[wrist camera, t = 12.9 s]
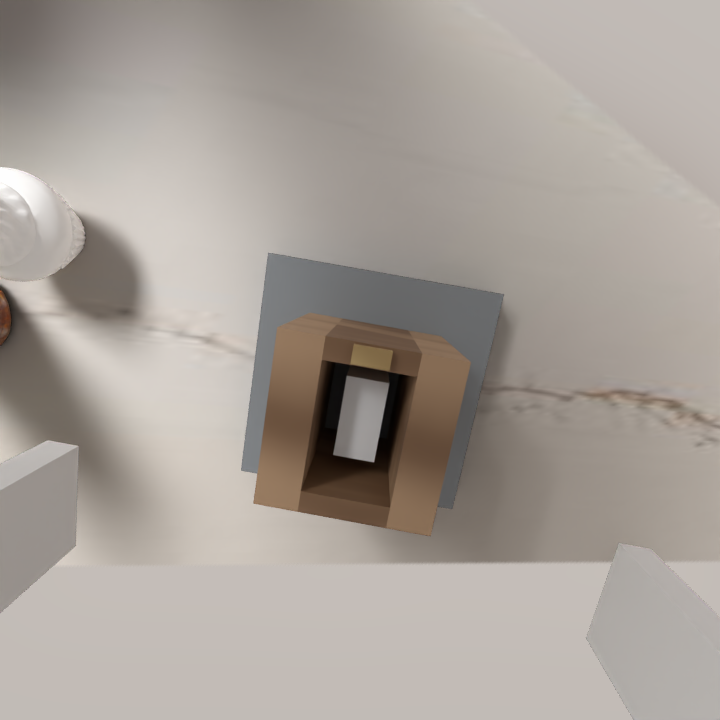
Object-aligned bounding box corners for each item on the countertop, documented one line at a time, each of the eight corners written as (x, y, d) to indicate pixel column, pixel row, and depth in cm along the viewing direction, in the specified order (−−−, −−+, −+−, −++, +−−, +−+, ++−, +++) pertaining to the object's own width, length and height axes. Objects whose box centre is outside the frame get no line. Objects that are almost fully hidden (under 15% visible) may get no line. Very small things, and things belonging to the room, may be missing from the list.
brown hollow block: (414, 458, 26) (431, 540, 18) (291, 436, 26) (251, 507, 18) (441, 336, 24) (472, 363, 16) (309, 312, 24) (275, 327, 16)
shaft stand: (276, 255, 26) (231, 243, 18) (494, 293, 26) (545, 298, 18) (250, 457, 28) (201, 524, 21) (447, 493, 28) (473, 574, 20)
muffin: (126, 253, 26) (37, 244, 19) (52, 298, 27) (-59, 304, 20) (71, 163, 25) (-43, 120, 18) (-4, 212, 26) (-140, 188, 19)
